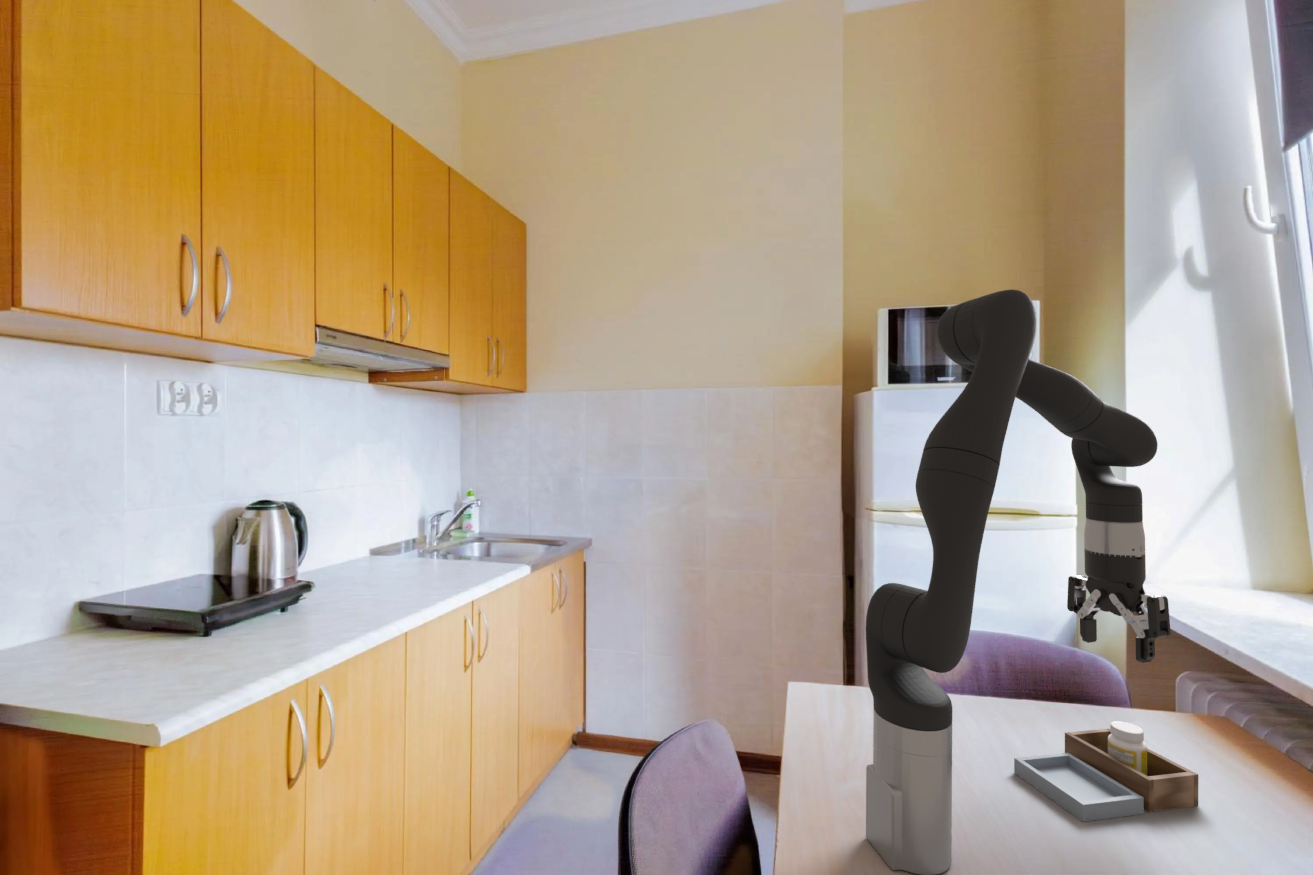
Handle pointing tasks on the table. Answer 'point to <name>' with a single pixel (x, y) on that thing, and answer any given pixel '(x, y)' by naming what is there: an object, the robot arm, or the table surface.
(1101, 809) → the tray
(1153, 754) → the caddy
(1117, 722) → the supplement bottle
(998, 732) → the table surface
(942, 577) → the robot arm
